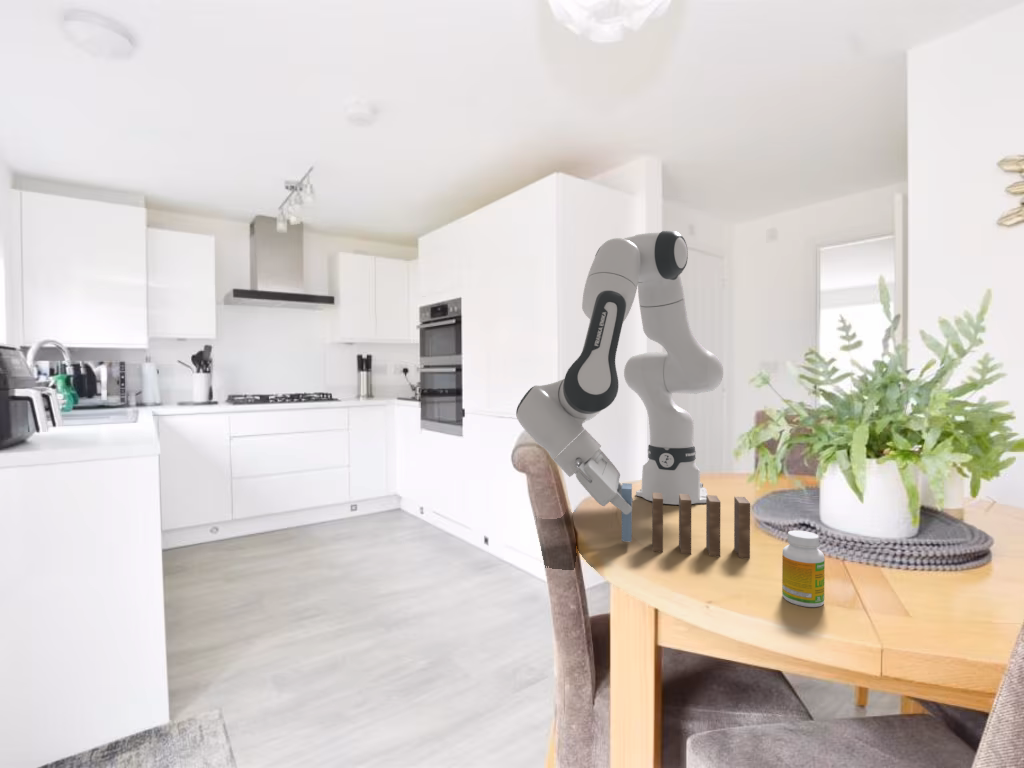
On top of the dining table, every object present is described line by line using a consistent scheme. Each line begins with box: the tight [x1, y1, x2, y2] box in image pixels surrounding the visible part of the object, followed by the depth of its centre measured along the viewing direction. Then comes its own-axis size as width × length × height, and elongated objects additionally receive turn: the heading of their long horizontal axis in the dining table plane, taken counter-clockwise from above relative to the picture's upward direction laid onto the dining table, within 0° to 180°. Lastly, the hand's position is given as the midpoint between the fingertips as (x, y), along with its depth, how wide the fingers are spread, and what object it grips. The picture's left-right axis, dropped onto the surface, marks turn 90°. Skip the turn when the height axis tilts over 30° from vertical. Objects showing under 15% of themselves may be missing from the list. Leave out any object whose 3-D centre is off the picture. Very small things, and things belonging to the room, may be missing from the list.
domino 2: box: [651, 493, 664, 553], centre depth 99 cm, size 2×5×10 cm, turn 166°
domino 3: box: [678, 494, 692, 555], centre depth 98 cm, size 2×5×10 cm, turn 166°
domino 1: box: [621, 483, 633, 543], centre depth 101 cm, size 2×5×10 cm, turn 167°
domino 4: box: [705, 494, 721, 558], centre depth 97 cm, size 2×5×10 cm, turn 166°
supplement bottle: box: [781, 529, 826, 608], centre depth 76 cm, size 5×5×10 cm
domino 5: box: [733, 495, 751, 560], centre depth 96 cm, size 2×5×10 cm, turn 166°
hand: (630, 507), depth 101 cm, fingers closed on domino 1, 5 cm apart
